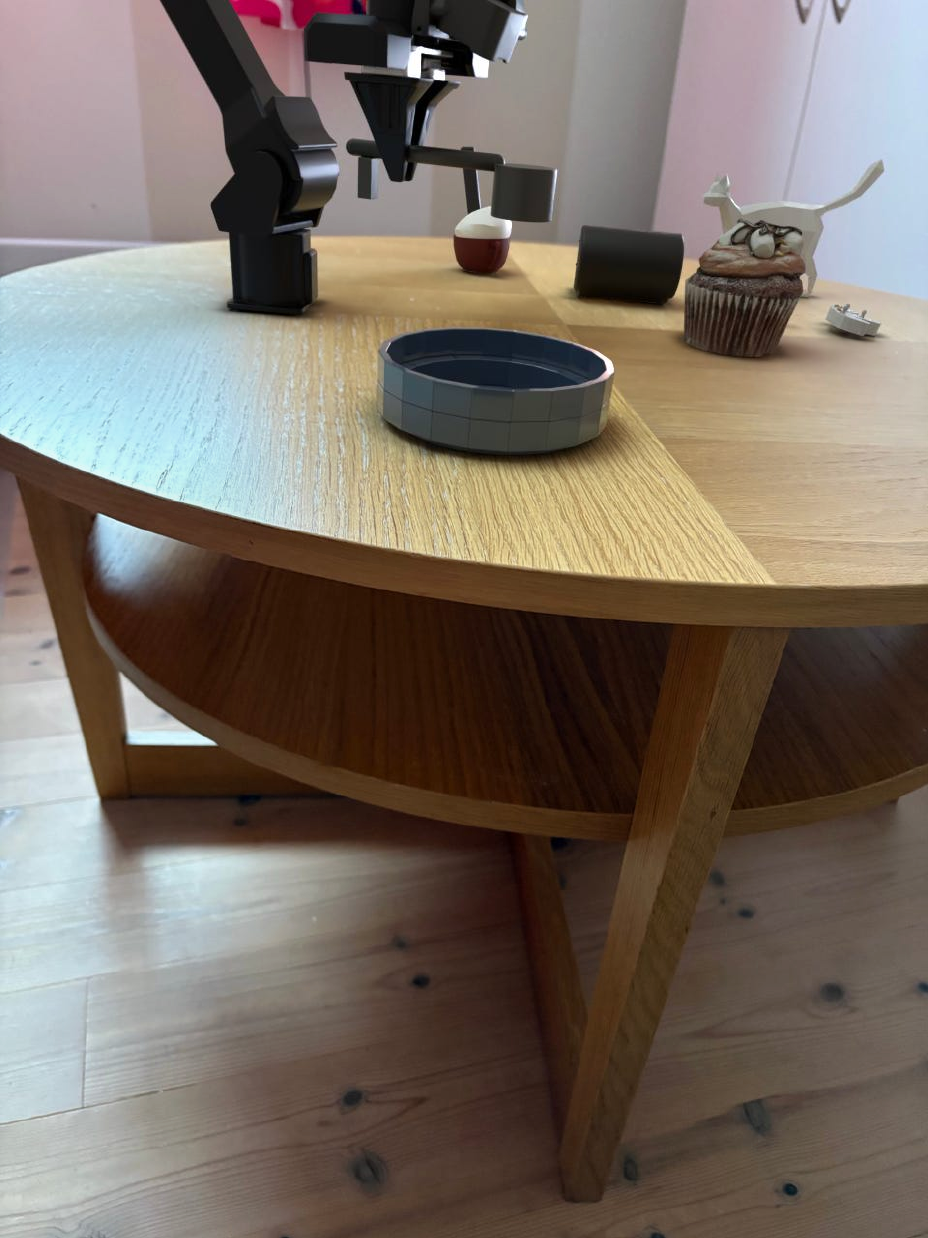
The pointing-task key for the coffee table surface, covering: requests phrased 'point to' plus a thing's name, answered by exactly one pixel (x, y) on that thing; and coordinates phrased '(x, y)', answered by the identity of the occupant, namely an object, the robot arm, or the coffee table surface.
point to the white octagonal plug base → (851, 320)
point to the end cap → (628, 264)
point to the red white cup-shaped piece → (480, 232)
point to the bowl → (493, 389)
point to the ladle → (514, 185)
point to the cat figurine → (787, 213)
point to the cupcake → (745, 290)
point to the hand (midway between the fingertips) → (401, 181)
